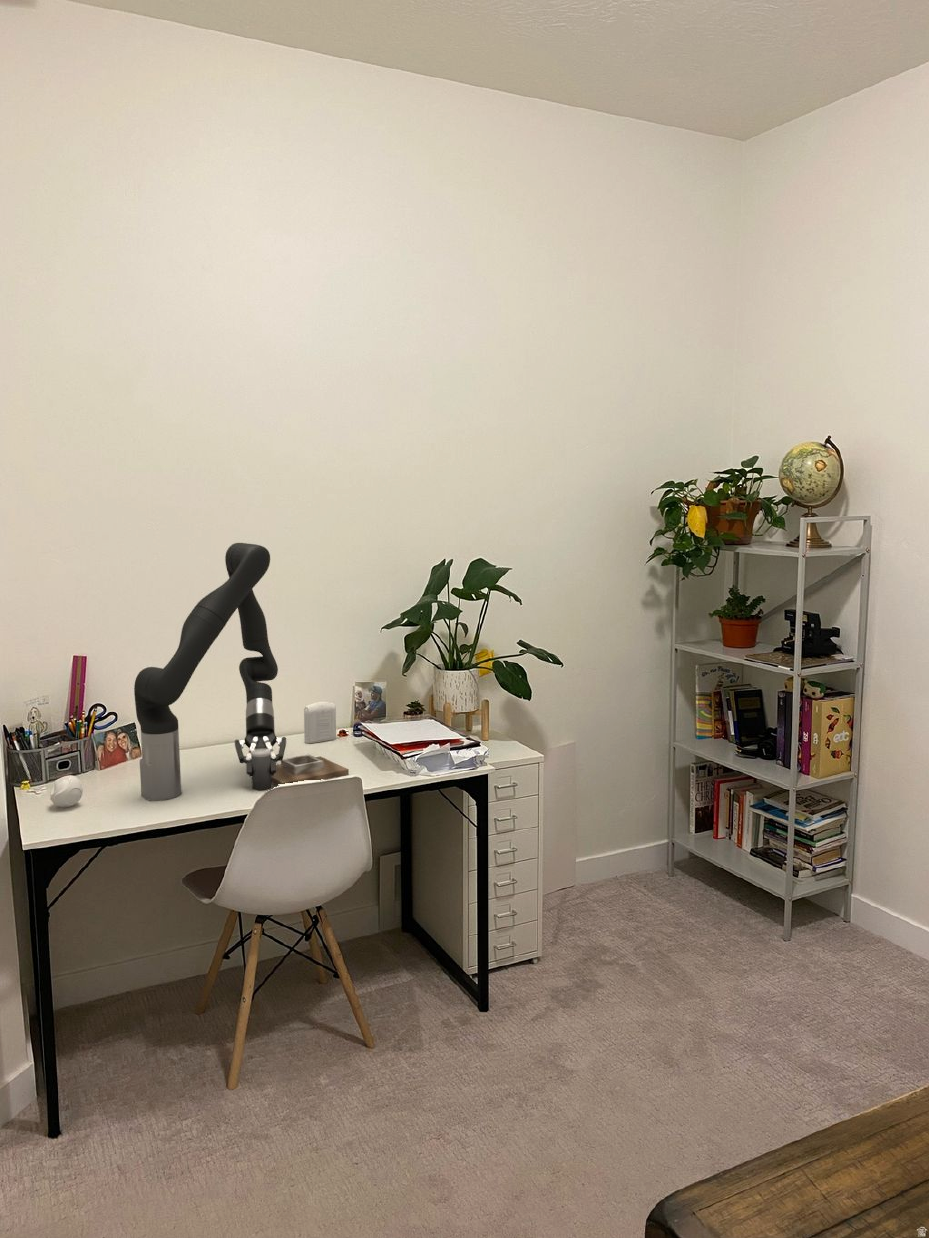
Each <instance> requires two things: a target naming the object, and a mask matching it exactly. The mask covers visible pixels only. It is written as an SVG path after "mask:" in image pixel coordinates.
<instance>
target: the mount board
mask: <svg viewBox="0 0 929 1238" xmlns="http://www.w3.org/2000/svg"><path fill="white" fill-rule="evenodd" d="M349 771H350V770H349V769H348V768H346V767H345V766H342V765H340V764H338V763H336V762H333V761H332V760H329V759H327V758H325V757H323V756H314V755H311V754H309V753H307V754H303V755H298V756H297V755H296V756H292V757H287V758H283V760H282V761H280V763H279V764H276V773H274V775H271V781H272V784H274V785H275V786H277V785H278V784H285V783H293V782H298V781H304V780H320V781H322V780H321V779H325V780H329V779H333V778H334V777H335V778H338V777H343V776H348V775H349V773H350V772H349Z"/></svg>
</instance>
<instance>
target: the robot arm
mask: <svg viewBox="0 0 929 1238" xmlns="http://www.w3.org/2000/svg"><path fill="white" fill-rule="evenodd" d="M224 561H225V568H226V571H227V576H228V579H227V580H226V581H225V582H223V584H222V585H220V586H218V587H217V588H216V589H214V590H212V591H211V592H209V593H208V594H207V595H205V596H204V597H202V599H200V600H199V601H198V602H197V603H196V605H194V607H193V608H192V610H191V611H190V613H189V614H188V615H187V617H186V619H185V621H184V622H183V625H182V629H181V633H180V639H179V643H178V644H179V645H178V647H177V650H176V651H175V653H173V654H174V655H172V657H171V658H170V660H169V661H168V662H167V664H166V665H165V666H164V667H163V668H162V667H156V666H148V667H145V668H143V669H141V670H140V671H139V672H138V673H137V676H136V678H135V680H134V684H133V685H134V686H133V687H134V688H133V689H134V691H133V692H134V694H133V695H134V705H135V713H136V718H137V721H138V722H137V723H139V727H140V739H141V740H140V741H141V742H140V744H141V759H140V758H139V759H140V760H139V773H140V774H139V775H140V794H141V796H142V797H143V798H144V799H146V800H148V801H149V802H150V801H151V802H152V801H163V800H170V799H174V798H176V797H179V796H181V794H182V778H181V777H182V776H181V775H182V774H181V756H180V755H181V754H180V753H181V752H180V733H179V732H180V731H179V730H180V729H179V720H178V717H177V716H176V715H175V714H174V712H172V710H171V708H170V706H171V705H172V704H174V703H175V702H177V701H178V700H179V699H180V697H181V695H182V694H183V693H184V691H185V689H186V687H187V685H188V684H189V682H190V680H191V678H192V676H193V675H194V673H195V671H196V669H197V667H198V666H199V664H200V663H201V661H202V659H203V658H204V656H206V654H207V653H208V651H209V649H210V647H211V646H212V645H213V643H214V642H215V641H216V640H217V638H218V636H220V633H222V631H223V630H224V628H225V627H226V625H227V624H228V622H229V621H230V619H231V618H232V616H233V615H234V613H235V612H236V611H237V610H238V617H239V623H240V631H241V639H242V640H241V641H242V647H243V649H244V650H246V651H250V652H256V653H259V654H261V655H260V656H251V657H245V658H243V659H242V660H241V661H240V663H239V666H238V670H239V674H240V675H239V676H240V677H241V680H242V681H243V682H242V683H243V685H244V687H245V688H244V689H245V696H246V697H245V698H246V701H245V702H246V706H245V707H246V709H245V732H246V733H245V737H244V739H241V740H239V739H235V740H234V748H235V751H236V754H237V757H238V762H239V763H240V764H245V765H246V766H245V767H246V775H248V776H249V777H250V778H252V762H251V751H252V750H254V749H260V748H266V749H270V750H271V775H274V773H276V765H277V762H279V761H280V762H281V761H282V760H283V759H284V755H285V750H286V747H287V738H286V737H285V736H283V737H282V738H280V737H277V735H276V733H275V711H274V705H273V690H272V687H271V685H269V684H268V683H267V681H268V682H269V681H273V680H275V679H276V678H277V676H278V672H279V667H278V664H277V661H276V658H275V657H274V654H273V652H272V650H271V646H270V642H269V637H268V636H269V635H268V627H267V621H266V616H265V614H264V612H263V611H264V610H263V609H262V607H261V605H260V603H259V602H258V600H257V597H256V595H255V592H254V590H253V589H254V588H255V587H256V586H257V584H258V583H259V582H260V580H261V579H262V578H263V577H264V576H265V574H266V573H267V572H268V569H269V567H270V564H271V553H270V552H269V549H267V548H266V547H265V546H264V545H263V546H262V545H261V544H254V543H247V542H235V543H232V544H231V545H230V546H229V547H228V548H227V550H226V552H225V557H224ZM265 682H266V683H265ZM276 743H277V746H278V747H279V749H278V753H277V754H275V751H274V749H273V748H274V746H275V744H276ZM245 745H246V747H247V748H248V753H247V756H245V755H244V752H243V748H244V746H245Z"/></svg>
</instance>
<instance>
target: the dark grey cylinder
mask: <svg viewBox="0 0 929 1238" xmlns="http://www.w3.org/2000/svg"><path fill="white" fill-rule="evenodd" d="M251 762H252V777H251V780H252V781H251V785H252V788H251V789H252V790H253V791H256V792H257V791H259V792H260V791H263V792H264V791H268V790H271V789H270V788H271V787H273V786H272V785H273V783H272V781H271V750H270V749H266V748H260V749H254V750H252V751H251Z"/></svg>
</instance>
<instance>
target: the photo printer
mask: <svg viewBox="0 0 929 1238" xmlns="http://www.w3.org/2000/svg"><path fill="white" fill-rule="evenodd" d="M303 728H304V732H303V733H304V743H305V744H314V743H320V742H327V741H328V742H329V741H335V740H336V739H337V711H336V705H335V703H333V702H330V701H315V702H313V703H310V704H308V705H305V707H304V709H303Z"/></svg>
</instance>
